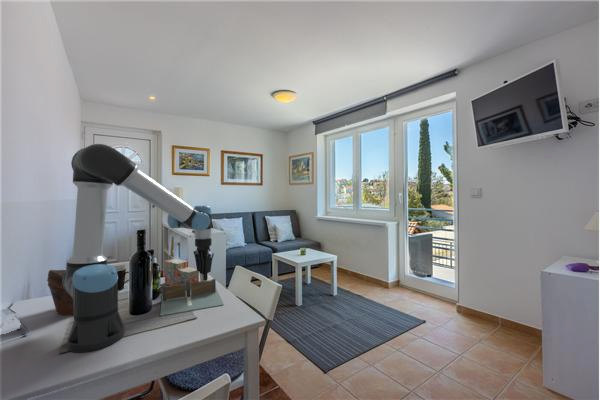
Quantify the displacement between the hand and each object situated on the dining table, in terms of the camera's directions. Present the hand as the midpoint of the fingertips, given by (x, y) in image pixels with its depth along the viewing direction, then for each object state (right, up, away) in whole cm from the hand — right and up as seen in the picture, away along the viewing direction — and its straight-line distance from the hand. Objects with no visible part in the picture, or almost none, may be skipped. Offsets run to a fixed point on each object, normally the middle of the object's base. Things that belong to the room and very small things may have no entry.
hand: (203, 286), depth 132 cm
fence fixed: (-9, -3, -9) cm, 13 cm away
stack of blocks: (-15, -3, +10) cm, 18 cm away
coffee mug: (-44, -3, +4) cm, 44 cm away
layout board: (-2, -3, -10) cm, 11 cm away
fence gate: (+1, -2, -4) cm, 5 cm away
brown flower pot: (-46, -4, -18) cm, 49 cm away
